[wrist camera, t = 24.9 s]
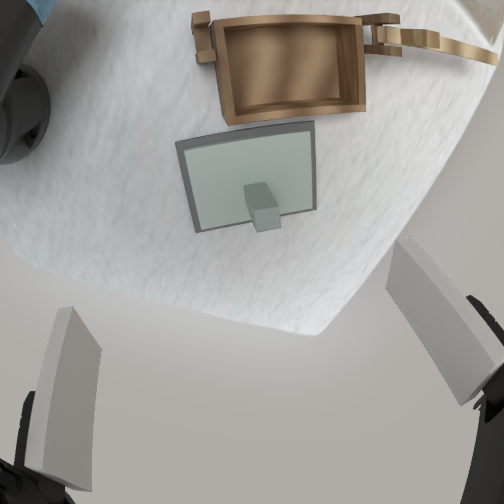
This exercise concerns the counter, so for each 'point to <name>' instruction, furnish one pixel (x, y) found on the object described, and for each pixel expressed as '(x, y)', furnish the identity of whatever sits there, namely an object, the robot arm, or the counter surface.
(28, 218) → the counter surface
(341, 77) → the wooden rack
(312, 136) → the mat
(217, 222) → the lid
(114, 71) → the counter surface
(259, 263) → the counter surface
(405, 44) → the key
